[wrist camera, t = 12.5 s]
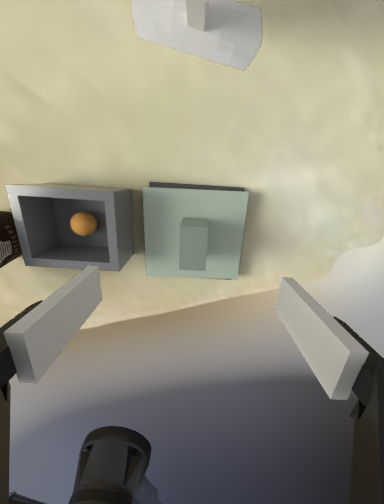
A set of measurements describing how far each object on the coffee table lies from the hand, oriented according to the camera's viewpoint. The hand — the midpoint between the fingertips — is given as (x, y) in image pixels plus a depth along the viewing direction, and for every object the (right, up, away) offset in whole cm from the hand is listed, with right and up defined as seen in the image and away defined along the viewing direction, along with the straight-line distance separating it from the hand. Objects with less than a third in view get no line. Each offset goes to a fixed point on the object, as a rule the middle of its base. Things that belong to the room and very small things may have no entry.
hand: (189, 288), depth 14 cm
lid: (0, +5, +13) cm, 14 cm away
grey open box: (-14, +7, +13) cm, 20 cm away
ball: (-14, +6, +11) cm, 18 cm away
